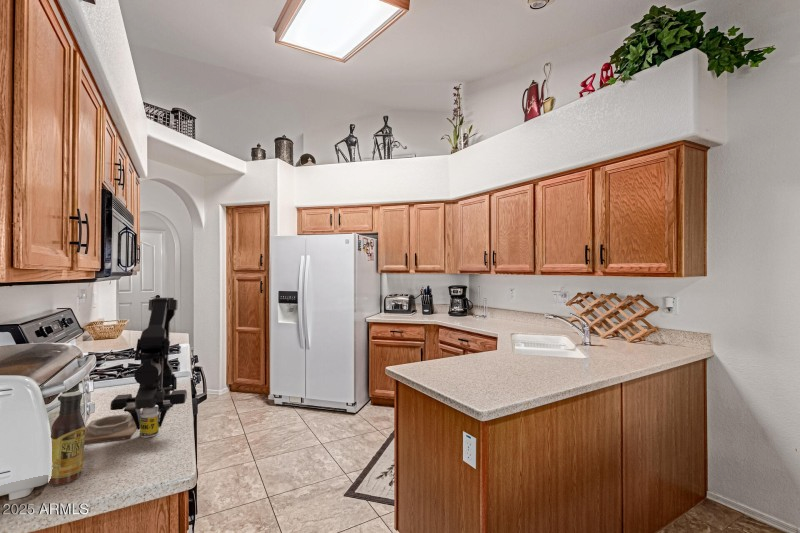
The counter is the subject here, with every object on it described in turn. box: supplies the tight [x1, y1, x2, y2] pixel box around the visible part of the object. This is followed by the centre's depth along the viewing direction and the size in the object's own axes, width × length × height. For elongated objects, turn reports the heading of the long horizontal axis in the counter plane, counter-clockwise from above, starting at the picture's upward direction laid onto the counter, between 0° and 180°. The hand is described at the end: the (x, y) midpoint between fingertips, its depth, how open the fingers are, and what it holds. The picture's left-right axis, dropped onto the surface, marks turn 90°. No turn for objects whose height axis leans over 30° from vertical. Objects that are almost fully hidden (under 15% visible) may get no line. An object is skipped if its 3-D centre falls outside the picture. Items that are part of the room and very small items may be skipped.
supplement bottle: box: [139, 405, 161, 439], centre depth 114 cm, size 5×5×8 cm
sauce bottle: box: [47, 391, 86, 486], centre depth 89 cm, size 7×6×20 cm
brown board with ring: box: [84, 414, 138, 445], centre depth 116 cm, size 16×14×3 cm
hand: (149, 428), depth 114 cm, fingers open, 5 cm apart
